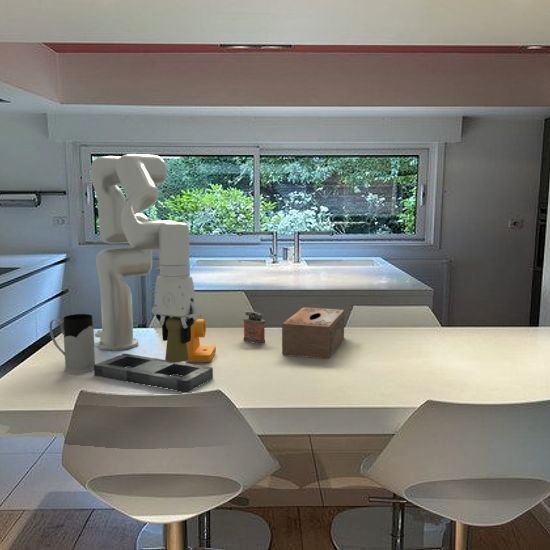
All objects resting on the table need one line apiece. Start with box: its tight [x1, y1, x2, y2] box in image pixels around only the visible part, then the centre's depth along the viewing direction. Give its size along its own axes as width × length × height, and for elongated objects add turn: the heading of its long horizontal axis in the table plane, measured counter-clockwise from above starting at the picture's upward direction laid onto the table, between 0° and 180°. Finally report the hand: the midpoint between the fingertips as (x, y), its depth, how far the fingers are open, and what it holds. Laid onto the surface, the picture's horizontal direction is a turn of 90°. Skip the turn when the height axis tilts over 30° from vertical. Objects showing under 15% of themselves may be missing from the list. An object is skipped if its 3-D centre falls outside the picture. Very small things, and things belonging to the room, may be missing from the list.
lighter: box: [242, 310, 266, 344], centre depth 182 cm, size 8×3×10 cm, turn 58°
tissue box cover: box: [281, 307, 345, 360], centre depth 177 cm, size 26×14×10 cm, turn 163°
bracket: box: [186, 318, 217, 363], centre depth 163 cm, size 11×7×12 cm, turn 177°
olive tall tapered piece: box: [164, 317, 189, 363], centre depth 141 cm, size 6×6×11 cm
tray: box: [93, 353, 214, 393], centre depth 146 cm, size 30×12×3 cm, turn 64°
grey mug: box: [49, 313, 96, 376], centre depth 153 cm, size 9×14×15 cm, turn 70°
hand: (176, 340), depth 141 cm, fingers closed on olive tall tapered piece, 5 cm apart
